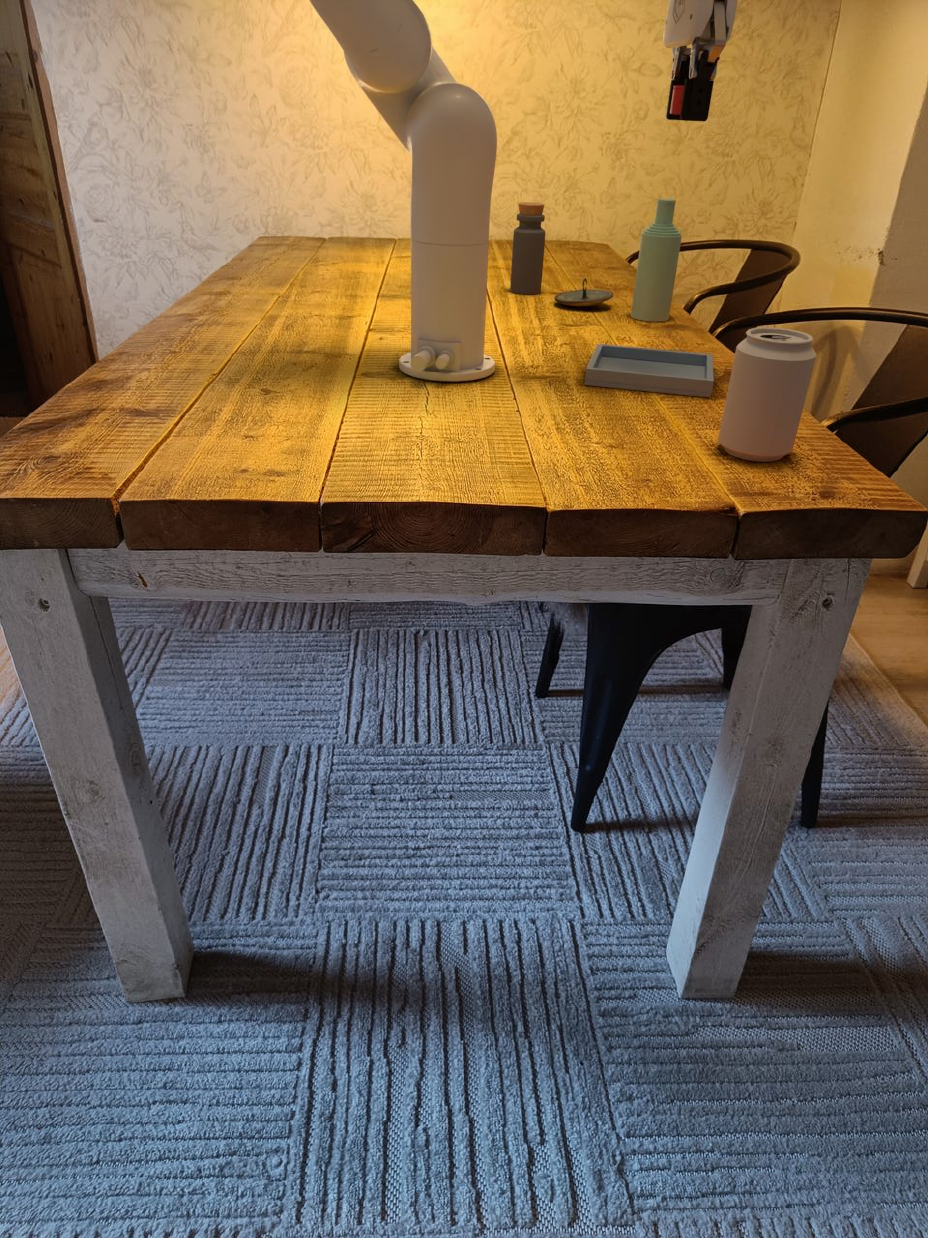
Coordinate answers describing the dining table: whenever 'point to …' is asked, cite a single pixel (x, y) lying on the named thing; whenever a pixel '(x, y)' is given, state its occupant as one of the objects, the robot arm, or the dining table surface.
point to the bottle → (528, 250)
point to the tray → (651, 370)
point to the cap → (677, 99)
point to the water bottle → (657, 266)
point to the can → (766, 393)
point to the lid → (583, 297)
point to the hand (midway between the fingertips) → (686, 118)
